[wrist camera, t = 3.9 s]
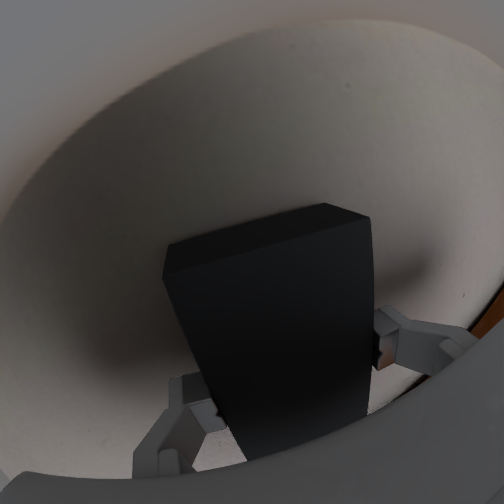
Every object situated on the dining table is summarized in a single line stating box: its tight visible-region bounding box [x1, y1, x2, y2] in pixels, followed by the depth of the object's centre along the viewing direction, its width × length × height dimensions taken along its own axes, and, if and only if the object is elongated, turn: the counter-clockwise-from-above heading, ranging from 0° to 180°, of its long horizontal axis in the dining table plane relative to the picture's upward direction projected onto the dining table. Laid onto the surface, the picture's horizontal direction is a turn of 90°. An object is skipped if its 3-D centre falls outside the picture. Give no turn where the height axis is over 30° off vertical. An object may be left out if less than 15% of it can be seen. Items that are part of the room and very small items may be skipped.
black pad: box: [162, 203, 374, 461], centre depth 10 cm, size 10×6×3 cm, turn 13°
